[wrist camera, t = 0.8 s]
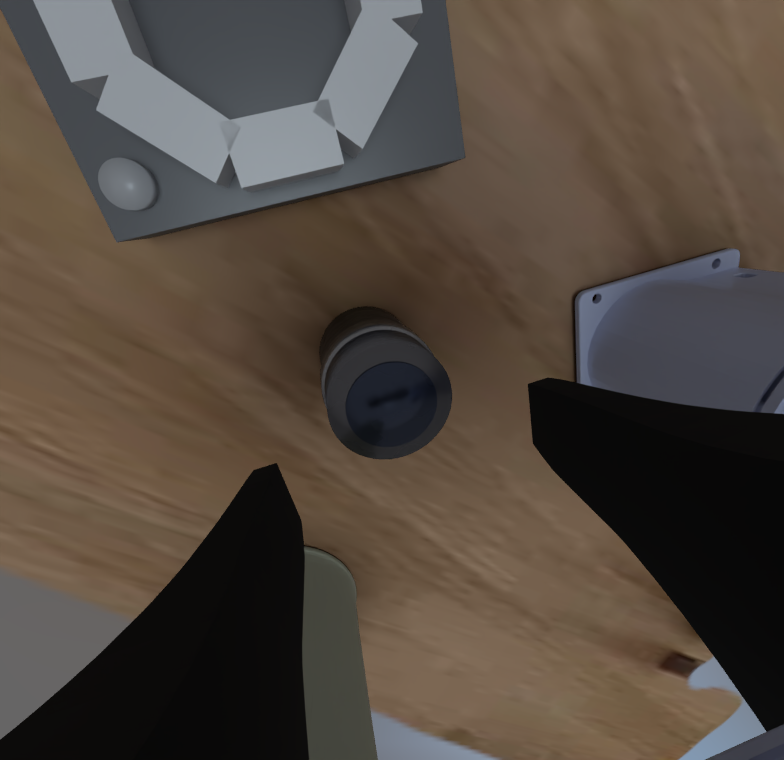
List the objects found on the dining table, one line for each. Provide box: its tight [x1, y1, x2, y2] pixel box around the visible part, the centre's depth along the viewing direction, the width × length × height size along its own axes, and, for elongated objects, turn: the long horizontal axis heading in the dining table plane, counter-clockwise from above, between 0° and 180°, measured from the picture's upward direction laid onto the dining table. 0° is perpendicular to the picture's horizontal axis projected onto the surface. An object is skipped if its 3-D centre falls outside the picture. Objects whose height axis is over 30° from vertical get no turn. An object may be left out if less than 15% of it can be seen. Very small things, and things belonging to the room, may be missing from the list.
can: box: [302, 546, 378, 760], centre depth 18 cm, size 9×9×12 cm
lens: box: [319, 306, 452, 459], centre depth 16 cm, size 5×5×6 cm
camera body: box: [0, 0, 465, 242], centre depth 12 cm, size 12×10×5 cm
